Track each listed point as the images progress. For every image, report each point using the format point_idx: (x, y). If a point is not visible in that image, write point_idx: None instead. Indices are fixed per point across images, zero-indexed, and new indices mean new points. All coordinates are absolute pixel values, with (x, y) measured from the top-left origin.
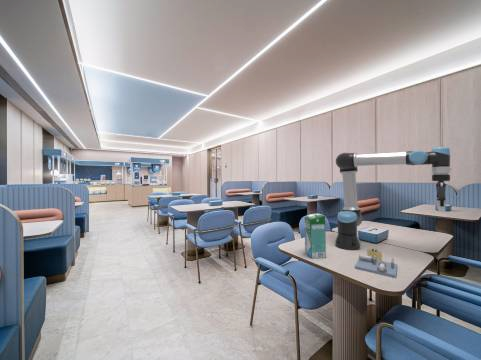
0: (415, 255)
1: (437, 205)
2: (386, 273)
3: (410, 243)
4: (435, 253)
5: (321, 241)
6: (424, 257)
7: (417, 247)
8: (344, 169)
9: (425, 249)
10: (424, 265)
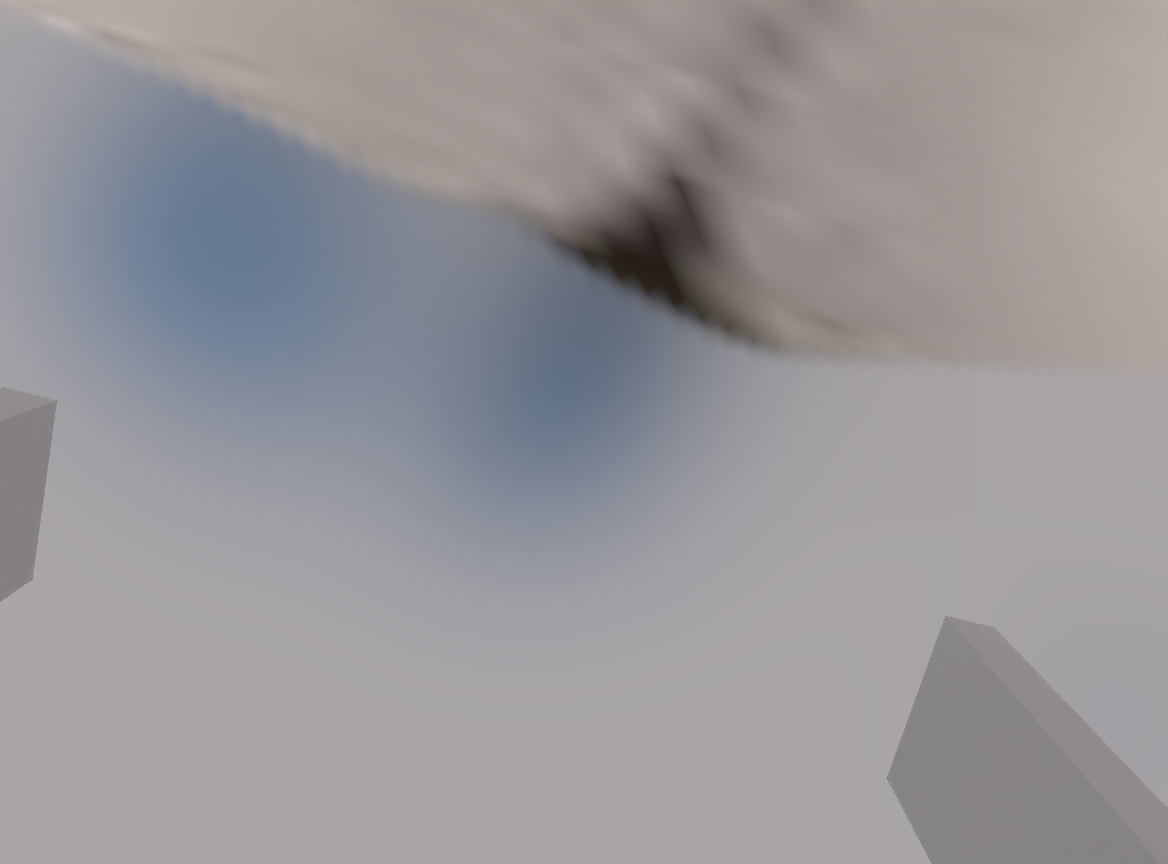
0: (455, 13)
1: (1000, 703)
2: None
3: (1132, 110)
4: (680, 318)
5: None
6: (413, 114)
7: (914, 158)
8: None
9: (841, 244)
10: (49, 14)
